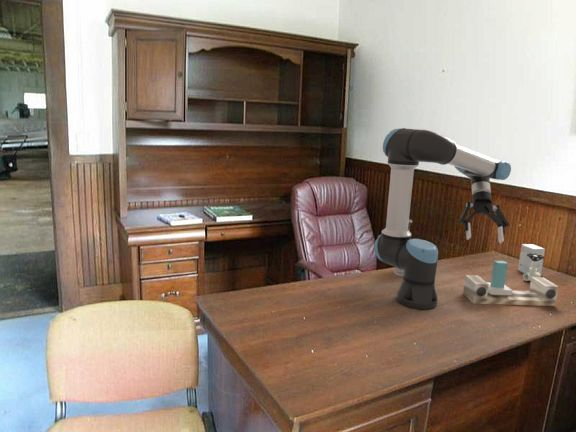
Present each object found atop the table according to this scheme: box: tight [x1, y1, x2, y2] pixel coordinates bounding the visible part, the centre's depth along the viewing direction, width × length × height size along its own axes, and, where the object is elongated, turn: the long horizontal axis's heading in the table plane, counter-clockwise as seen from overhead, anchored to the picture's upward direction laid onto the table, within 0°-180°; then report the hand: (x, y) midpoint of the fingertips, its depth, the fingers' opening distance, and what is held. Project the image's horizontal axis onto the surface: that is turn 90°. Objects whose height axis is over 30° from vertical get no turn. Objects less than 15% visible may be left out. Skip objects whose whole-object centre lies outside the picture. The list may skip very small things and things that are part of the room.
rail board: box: [462, 274, 559, 307], centre depth 179 cm, size 32×10×8 cm, turn 91°
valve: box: [522, 253, 545, 282], centre depth 202 cm, size 7×7×12 cm
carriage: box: [486, 260, 513, 296], centre depth 178 cm, size 8×8×13 cm
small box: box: [517, 243, 546, 276], centre depth 212 cm, size 8×6×13 cm
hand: (485, 240), depth 188 cm, fingers open, 13 cm apart
